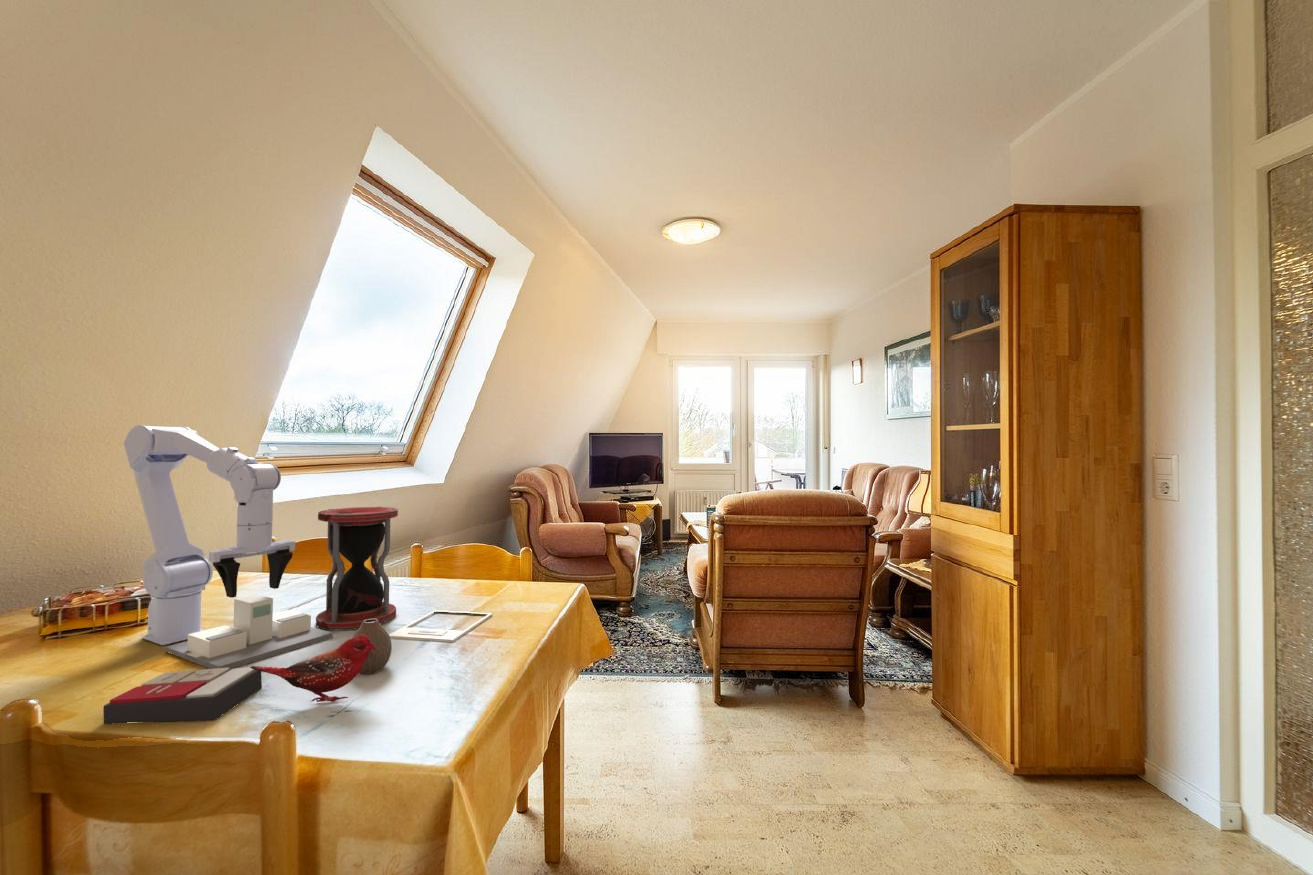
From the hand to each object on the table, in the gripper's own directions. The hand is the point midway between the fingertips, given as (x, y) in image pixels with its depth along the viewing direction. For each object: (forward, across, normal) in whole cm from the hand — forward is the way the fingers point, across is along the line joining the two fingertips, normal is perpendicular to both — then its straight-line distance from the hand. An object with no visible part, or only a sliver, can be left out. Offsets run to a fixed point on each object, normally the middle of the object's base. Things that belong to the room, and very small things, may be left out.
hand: (253, 592), depth 109 cm
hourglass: (+11, +20, -3) cm, 23 cm away
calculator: (+11, -18, -20) cm, 29 cm away
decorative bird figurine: (+10, -9, -36) cm, 39 cm away
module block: (+9, 0, 0) cm, 9 cm away
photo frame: (+11, +26, -24) cm, 37 cm away
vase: (+11, +3, -32) cm, 34 cm away
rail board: (+10, 0, 0) cm, 10 cm away
